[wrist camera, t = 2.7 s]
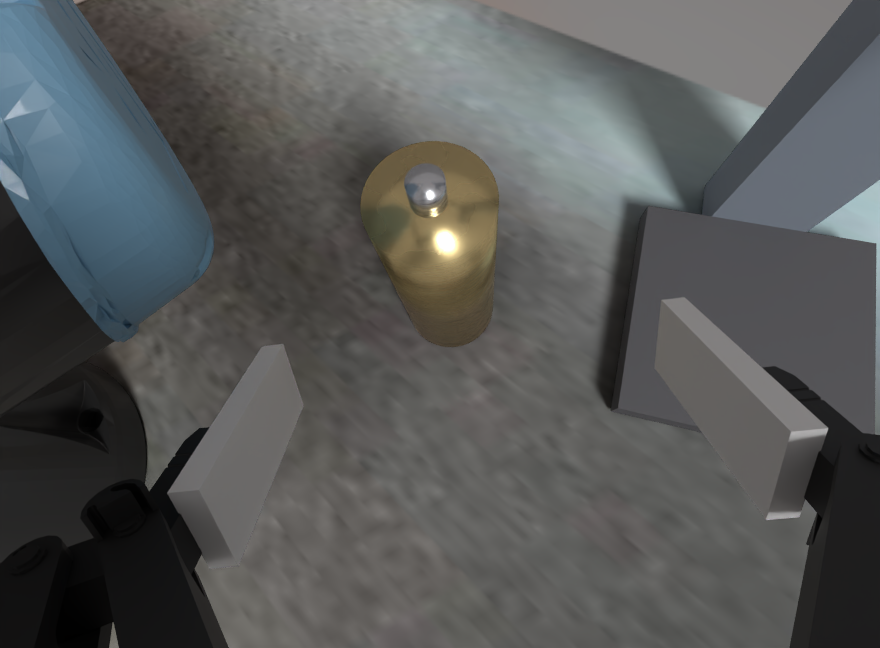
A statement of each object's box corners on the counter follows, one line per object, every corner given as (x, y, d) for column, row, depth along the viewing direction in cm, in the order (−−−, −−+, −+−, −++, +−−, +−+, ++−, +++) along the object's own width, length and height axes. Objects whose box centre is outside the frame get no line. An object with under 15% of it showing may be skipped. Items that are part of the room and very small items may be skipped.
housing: (400, 336, 28) (332, 234, 16) (421, 261, 29) (374, 109, 17) (482, 355, 27) (481, 263, 15) (500, 276, 29) (513, 130, 16)
